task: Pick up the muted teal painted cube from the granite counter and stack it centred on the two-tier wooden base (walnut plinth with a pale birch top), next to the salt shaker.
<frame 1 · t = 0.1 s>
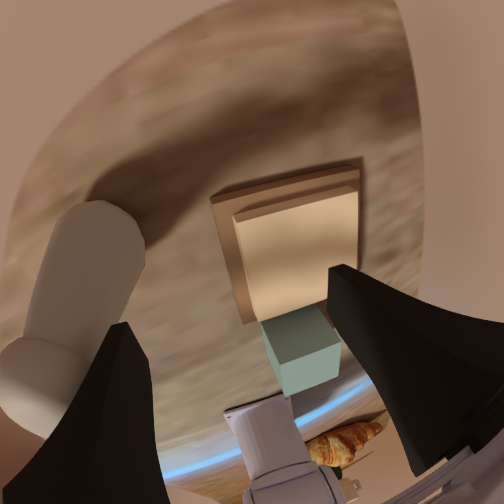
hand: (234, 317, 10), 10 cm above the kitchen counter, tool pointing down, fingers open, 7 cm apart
salt shaker: (105, 229, 17), on the kitchen counter, touching gripper
croissant: (326, 436, 45), on the kitchen counter
wooden base: (292, 243, 21), on the kitchen counter
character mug: (323, 461, 55), on the kitchen counter
teal block: (290, 330, 26), on the kitchen counter
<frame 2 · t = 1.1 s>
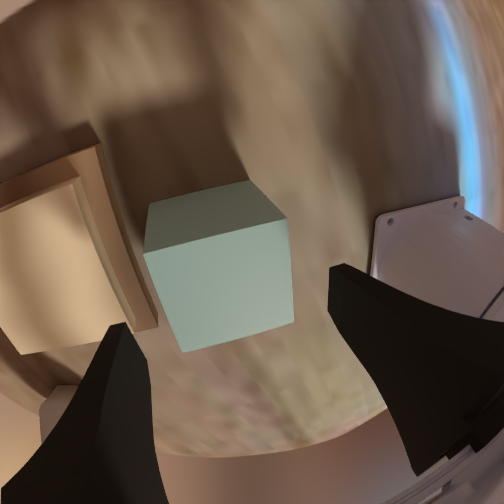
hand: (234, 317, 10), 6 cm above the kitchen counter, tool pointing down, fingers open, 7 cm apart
salt shaker: (76, 396, 19), on the kitchen counter
wooden base: (48, 262, 13), on the kitchen counter
teal block: (209, 235, 15), on the kitchen counter
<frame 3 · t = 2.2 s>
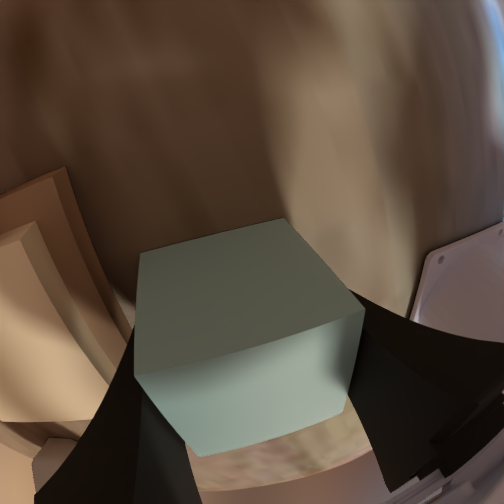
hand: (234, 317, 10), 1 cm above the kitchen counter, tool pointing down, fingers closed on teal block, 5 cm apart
salt shaker: (71, 446, 15), on the kitchen counter
wooden base: (17, 322, 9), on the kitchen counter
teal block: (225, 293, 11), on the kitchen counter, touching gripper
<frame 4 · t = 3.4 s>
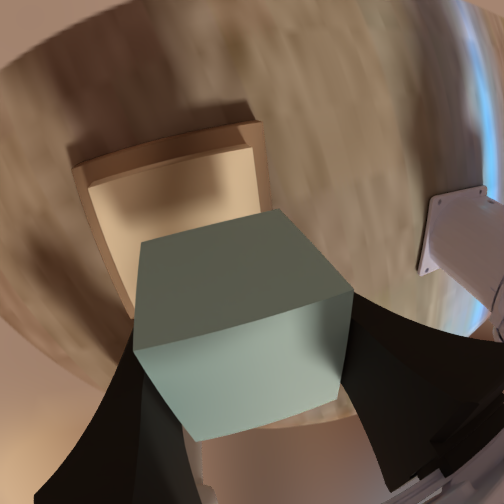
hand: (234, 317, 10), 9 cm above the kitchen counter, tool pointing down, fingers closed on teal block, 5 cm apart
salt shaker: (163, 366, 22), on the kitchen counter
wooden base: (183, 222, 17), on the kitchen counter
teal block: (223, 282, 11), point 7 cm above the kitchen counter, touching gripper
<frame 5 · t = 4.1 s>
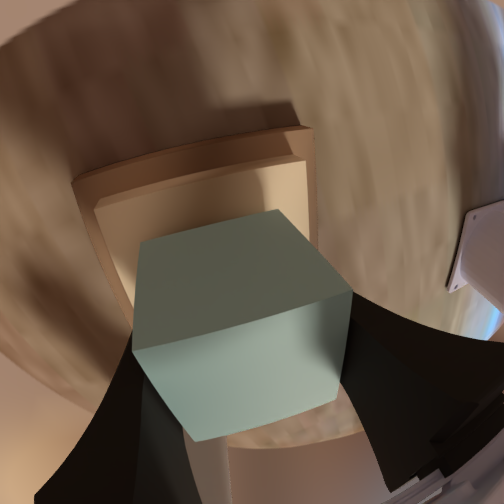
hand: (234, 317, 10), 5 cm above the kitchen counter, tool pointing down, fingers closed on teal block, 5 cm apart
salt shaker: (180, 398, 20), on the kitchen counter
wooden base: (210, 246, 14), on the kitchen counter
teal block: (222, 282, 11), point 3 cm above the kitchen counter, touching gripper
when the fingers open (5 cm above the kitchen counter, at t = 4.7 s): teal block stays where it is, resting on wooden base.
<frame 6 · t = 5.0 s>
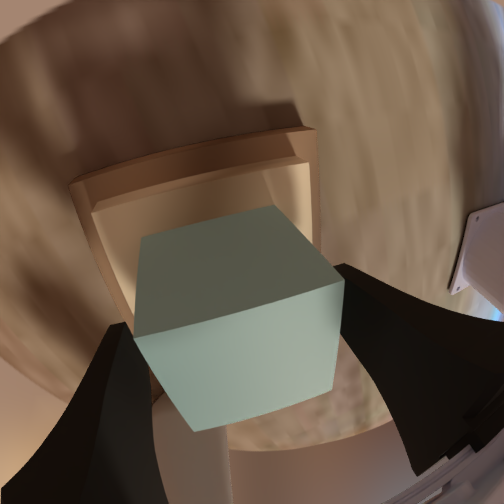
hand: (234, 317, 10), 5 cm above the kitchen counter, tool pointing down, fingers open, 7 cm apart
salt shaker: (180, 401, 19), on the kitchen counter
wooden base: (211, 249, 14), on the kitchen counter
teal block: (220, 276, 12), point 2 cm above the kitchen counter, touching wooden base
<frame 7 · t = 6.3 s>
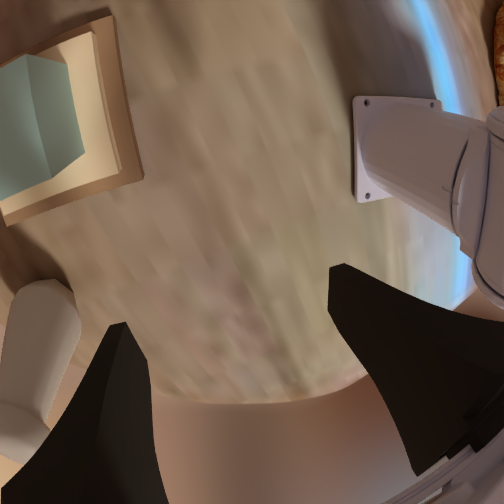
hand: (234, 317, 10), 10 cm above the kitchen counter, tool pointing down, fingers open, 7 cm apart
salt shaker: (53, 298, 19), on the kitchen counter
croissant: (502, 64, 18), on the kitchen counter
wooden base: (50, 122, 13), on the kitchen counter
teal block: (34, 125, 11), point 2 cm above the kitchen counter, touching wooden base
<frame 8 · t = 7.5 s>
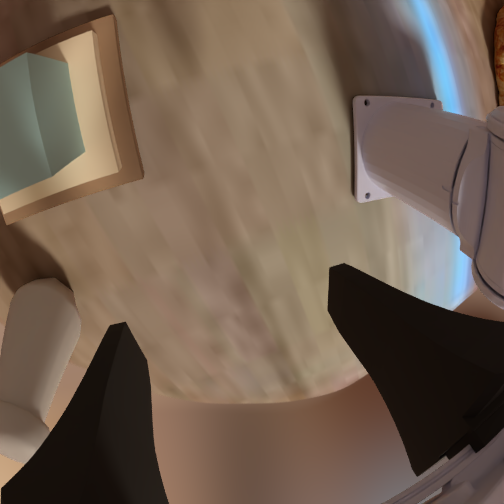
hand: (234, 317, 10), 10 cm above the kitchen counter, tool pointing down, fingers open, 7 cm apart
salt shaker: (53, 297, 19), on the kitchen counter
croissant: (503, 65, 18), on the kitchen counter
wooden base: (51, 121, 13), on the kitchen counter
teal block: (35, 123, 11), point 2 cm above the kitchen counter, touching wooden base
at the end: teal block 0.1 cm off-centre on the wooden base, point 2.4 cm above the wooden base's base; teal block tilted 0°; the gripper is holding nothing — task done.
